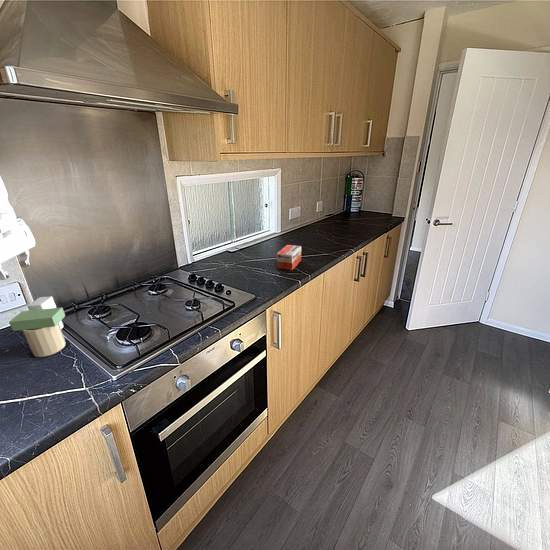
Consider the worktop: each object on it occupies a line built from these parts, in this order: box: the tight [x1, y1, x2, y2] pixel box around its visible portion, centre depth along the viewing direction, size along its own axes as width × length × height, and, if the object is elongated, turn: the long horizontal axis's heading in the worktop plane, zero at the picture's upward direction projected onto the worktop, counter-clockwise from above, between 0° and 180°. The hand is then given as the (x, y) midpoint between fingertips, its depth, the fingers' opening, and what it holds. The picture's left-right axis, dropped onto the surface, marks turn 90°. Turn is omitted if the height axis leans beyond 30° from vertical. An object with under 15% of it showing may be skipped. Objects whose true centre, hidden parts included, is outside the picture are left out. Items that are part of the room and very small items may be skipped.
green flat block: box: [8, 306, 66, 332], centre depth 85 cm, size 11×6×3 cm, turn 100°
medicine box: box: [276, 244, 302, 271], centre depth 147 cm, size 15×8×8 cm, turn 158°
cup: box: [21, 323, 67, 358], centre depth 88 cm, size 8×8×9 cm
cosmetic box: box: [27, 296, 65, 330], centre depth 95 cm, size 6×4×12 cm
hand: (15, 272), depth 82 cm, fingers open, 8 cm apart
